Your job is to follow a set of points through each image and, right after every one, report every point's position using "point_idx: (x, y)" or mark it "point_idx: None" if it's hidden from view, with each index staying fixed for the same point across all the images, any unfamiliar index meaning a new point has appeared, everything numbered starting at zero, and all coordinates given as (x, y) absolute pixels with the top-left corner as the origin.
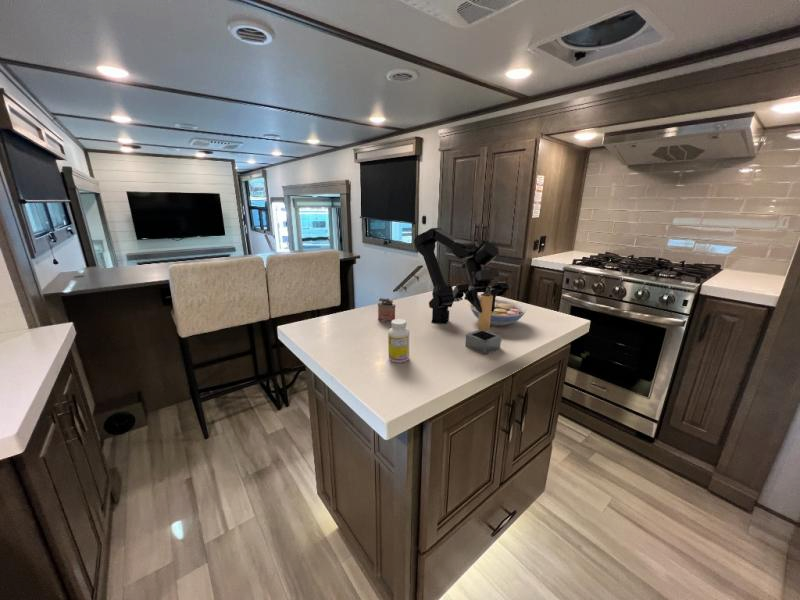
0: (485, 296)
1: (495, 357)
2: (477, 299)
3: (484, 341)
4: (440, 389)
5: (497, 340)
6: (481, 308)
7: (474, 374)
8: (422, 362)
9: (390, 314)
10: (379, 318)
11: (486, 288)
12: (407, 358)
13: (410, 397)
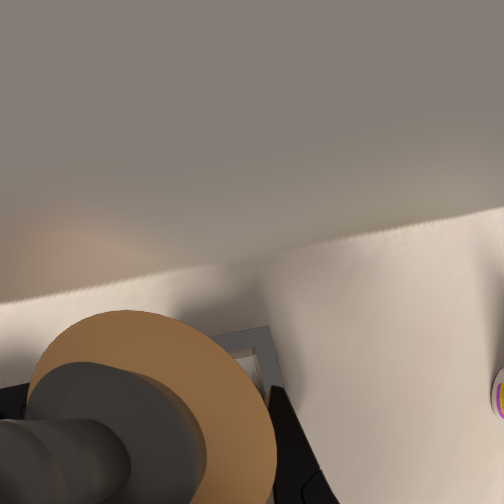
0: (219, 393)
1: (239, 304)
2: (301, 496)
3: (268, 337)
4: (460, 228)
5: None
6: (269, 402)
7: (374, 243)
8: (472, 357)
9: None
10: None
11: (45, 494)
12: (502, 371)
13: (499, 232)
